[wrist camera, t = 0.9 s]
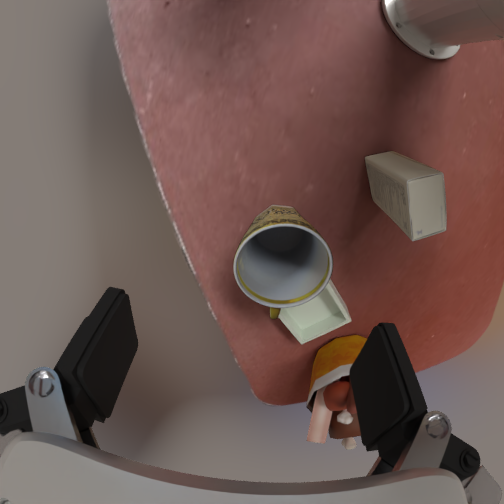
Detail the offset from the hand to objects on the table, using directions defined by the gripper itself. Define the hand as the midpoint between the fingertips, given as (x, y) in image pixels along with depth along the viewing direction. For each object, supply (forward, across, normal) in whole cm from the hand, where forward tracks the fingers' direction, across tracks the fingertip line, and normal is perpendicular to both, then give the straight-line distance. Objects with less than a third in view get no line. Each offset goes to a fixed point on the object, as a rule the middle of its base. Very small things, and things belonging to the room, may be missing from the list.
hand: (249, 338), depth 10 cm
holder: (+26, -10, +18) cm, 34 cm away
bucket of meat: (+26, -20, +30) cm, 44 cm away
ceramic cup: (+26, -3, +9) cm, 28 cm away
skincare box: (+27, -15, -2) cm, 31 cm away
